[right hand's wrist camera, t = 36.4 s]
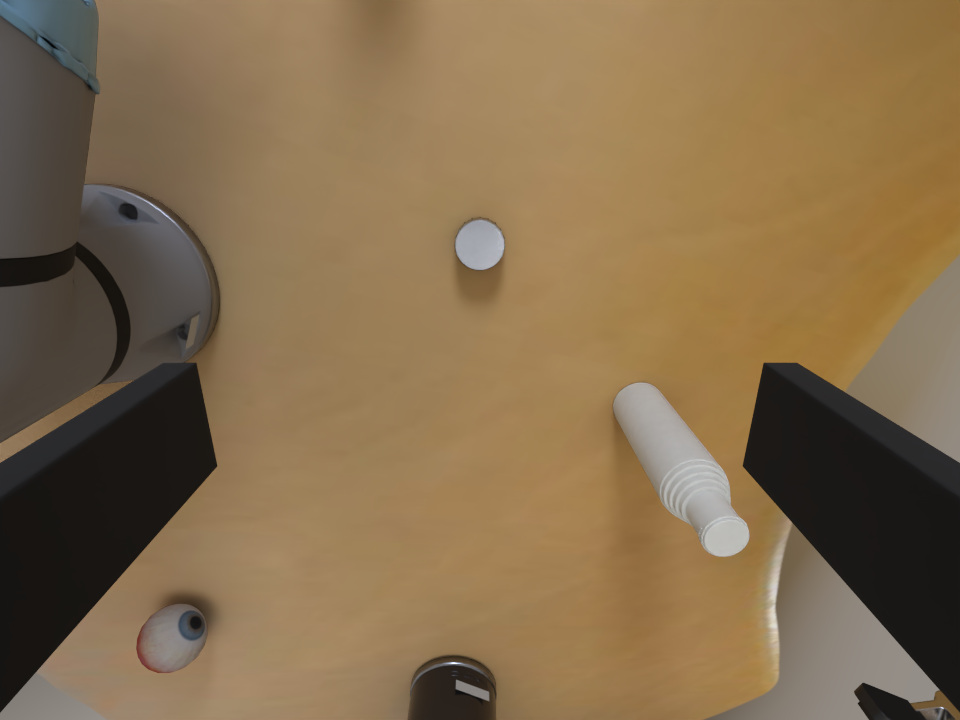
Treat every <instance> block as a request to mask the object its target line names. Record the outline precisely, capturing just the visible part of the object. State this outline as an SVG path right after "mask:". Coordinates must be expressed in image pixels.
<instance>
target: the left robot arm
mask: <svg viewBox="0 0 960 720" xmlns="http://www.w3.org/2000/svg"><path fill="white" fill-rule="evenodd" d="M854 693H855V695H856V696H857V698H858V699H859V701H860V702H859V703H858V705H859V706H860V707H861V709H862V710H863V712H864V713H865V715H866V716H867V717H868V719H869V720H960V712H959V711H958V710H957V709H956V708H955V707H954V705H953V704H952V703H951V702H950V701H949V700H948V699H947V697H946V696H945V695H944V694H943V693H942V692H941V691H937V692H936V693H935V697H934V700H932V701H924V702H917V703H909V702H908V700H905V699H903V698H900V697H898V696H895V695H893V694H890V693H888V692H885V691H883V690H880V689H878V688H875V687H873V686H870V685H868V684H865V683H862V684H861V685H860V686H859V687H858V688H857V689H856V690H855V691H854ZM408 720H496V683H495V680H494V677H493V676H492V674H491V673H490V671H489V670H488V669H487V668H485V667H484V666H483V665H481V664H480V663H478V662H476V661H473V660H470V659H467V658H462V657H444V658H439V659H436V660H433V661H430V662H428V663H427V664H425V665H424V666H422V667H421V668H420V669H419V670H418V671H417V672H416V674H415V675H414V677H413V680H412V684H411V691H410V706H409V713H408Z"/></svg>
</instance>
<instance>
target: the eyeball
mask: <svg viewBox="0 0 960 720" xmlns="http://www.w3.org/2000/svg"><path fill="white" fill-rule="evenodd" d="M207 635H208V626H207V623H206V619H205V617H204V616H203V614H202V613H201V612H200V611H199V610H198V609H197V608H196V607H193V606H191V605H188V604H174V605H170V606H166V607H164V608H162V609H160V610H159V611H157V612H156V613H154V614H153V615H152V616H151V617H150V618H149V619H148V620H147V622H146V623H145V624H144V625H143V626H142V628H141V631H140V633H139V636H138V638H137V648H136V649H137V654H138V658H139V659H140V661H141V663H142V664H143V665H144V666H145V667H146V668H147V669H149V670H151V671H154V672H157V673H171V672H174V671H177V670H179V669H182V668H184V667H186V666H187V665H188V664H189V663H191V662H192V661H193V660H194V659H195V658H196V657H197V656H198V655H199V653H200V652H201V650H202V649H203V647H204V645H205V642H206V638H207Z"/></svg>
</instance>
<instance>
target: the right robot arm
mask: <svg viewBox="0 0 960 720" xmlns="http://www.w3.org/2000/svg"><path fill="white" fill-rule="evenodd" d="M98 25H99V17H98V11H97V6H96V3H95V1H94V0H0V443H1V442H3V441H5V440H6V439H8V438H10V437H11V436H13V435H15V434H16V433H18V432H20V431H21V430H23V429H25V428H26V427H28V426H30V425H31V424H33V423H35V422H37V421H38V420H40V419H42V418H43V417H45V416H47V415H48V414H50V413H52V412H53V411H55V410H57V409H58V408H60V407H62V406H63V405H65V404H67V403H69V402H70V401H72V400H74V399H75V398H77V397H79V396H80V395H82V394H84V393H85V392H87V391H89V390H90V389H92V388H94V387H95V386H97V385H99V384H106V383H114V382H122V381H130V380H134V381H133V382H131V383H130V384H128V385H126V386H125V387H123V388H121V389H120V390H118V391H117V392H115V393H113V394H112V395H110V396H108V397H107V398H105V399H104V400H102V401H100V402H99V403H97V404H95V405H94V406H92V407H91V408H89V409H87V410H86V411H84V412H82V413H81V414H79V415H78V416H76V417H74V418H73V419H71V420H69V421H68V422H66V423H65V424H63V425H61V426H60V427H58V428H56V429H55V430H53V431H52V432H50V433H48V434H47V435H45V436H43V437H42V438H40V439H39V440H37V441H35V442H34V443H32V444H30V445H29V446H27V447H26V448H24V449H22V450H21V451H19V452H17V453H16V454H14V455H13V456H11V457H9V458H8V459H6V460H4V461H3V462H1V463H0V712H1V711H2V710H3V709H4V708H5V707H6V705H7V704H8V703H9V702H10V701H11V700H12V699H13V697H14V696H15V695H16V694H17V693H18V692H19V691H20V689H21V688H22V687H23V686H24V685H25V684H26V683H27V682H28V680H29V679H30V678H31V677H32V676H33V675H34V674H35V672H36V671H37V670H38V669H39V668H40V667H41V666H42V665H43V663H44V662H45V661H46V660H47V659H48V658H49V657H50V655H51V654H52V653H53V652H54V651H55V650H56V649H57V648H58V646H59V645H60V644H61V643H62V642H63V641H64V640H65V638H66V637H67V636H68V635H69V634H70V633H71V632H72V630H73V629H74V628H75V627H76V626H77V625H78V624H79V623H80V621H81V620H82V619H83V618H84V617H85V616H86V615H87V613H88V612H89V611H90V610H91V609H92V608H93V607H94V606H95V604H96V603H97V602H98V601H99V600H100V599H101V598H102V596H103V595H104V594H105V593H106V592H107V591H108V590H109V588H110V587H111V586H112V585H113V584H114V583H115V582H116V581H117V579H118V578H119V577H120V576H121V575H122V574H123V573H124V571H125V570H126V569H127V568H128V567H129V566H130V565H131V563H132V562H133V561H134V560H135V559H136V558H137V557H138V556H139V554H140V553H141V552H142V551H143V550H144V549H145V548H146V546H147V545H148V544H149V543H150V542H151V541H152V540H153V539H154V537H155V536H156V535H157V534H158V533H159V532H160V531H161V529H162V528H163V527H164V526H165V525H166V524H167V523H168V521H169V520H170V519H171V518H172V517H173V516H174V515H175V514H176V512H177V511H178V510H179V509H180V508H181V507H182V506H183V504H184V503H185V502H186V501H187V500H188V499H189V498H190V497H191V495H192V494H193V493H194V492H195V491H196V490H197V489H198V487H199V486H200V485H201V484H202V483H203V482H204V481H205V479H206V478H207V477H208V476H209V475H210V474H211V473H212V472H213V470H214V469H215V468H216V467H217V462H216V458H215V453H214V448H213V443H212V438H211V433H210V428H209V423H208V418H207V413H206V409H205V404H204V399H203V394H202V389H201V384H200V379H199V374H198V369H197V364H196V363H184V362H186V361H187V360H189V359H190V358H191V357H193V356H194V355H195V354H196V353H197V352H198V351H199V350H201V348H202V347H203V346H204V345H205V344H206V342H207V341H208V339H209V337H210V336H211V334H212V332H213V330H214V327H215V324H216V321H217V316H218V310H219V288H218V282H217V278H216V274H215V271H214V268H213V265H212V262H211V260H210V258H209V256H208V254H207V252H206V250H205V248H204V247H203V245H202V243H201V242H200V240H199V239H198V237H197V236H196V235H195V233H194V232H193V231H192V230H191V229H190V227H189V226H188V225H187V224H186V223H185V222H184V221H183V220H182V219H181V218H180V217H179V216H178V215H176V214H175V213H174V212H173V211H172V210H170V209H169V208H167V207H166V206H165V205H163V204H162V203H160V202H158V201H157V200H155V199H153V198H151V197H149V196H147V195H145V194H143V193H141V192H138V191H136V190H133V189H129V188H126V187H122V186H117V185H110V184H84V181H85V173H86V165H87V157H88V149H89V141H90V133H91V125H92V117H93V109H94V101H95V94H99V93H100V85H99V82H98V80H97V78H96V60H97V42H98ZM743 467H744V468H745V469H746V470H747V472H748V473H749V474H750V475H751V476H752V477H753V478H754V479H755V481H756V482H757V483H758V484H759V485H760V486H761V487H762V489H763V490H764V491H765V492H766V493H767V494H768V495H769V497H770V498H771V499H772V500H773V501H774V502H775V503H776V504H777V506H778V507H779V508H780V509H781V510H782V511H783V512H784V514H785V515H786V516H787V517H788V518H789V519H790V520H791V521H792V523H793V524H794V525H795V526H796V527H797V528H798V529H799V531H800V532H801V533H802V534H803V535H804V536H805V537H806V539H807V540H808V541H809V542H810V543H811V544H812V545H813V546H814V548H815V549H816V550H817V551H818V552H819V553H820V554H821V556H822V557H823V558H824V559H825V560H826V561H827V562H828V563H829V565H830V566H831V567H832V568H833V569H834V570H835V571H836V573H837V574H838V575H839V576H840V577H841V578H842V579H843V581H844V582H845V583H846V584H847V585H848V586H849V587H850V588H851V590H852V591H853V592H854V593H855V594H856V595H857V596H858V598H859V599H860V600H861V601H862V602H863V603H864V604H865V605H866V607H867V608H868V609H869V610H870V611H871V612H872V613H873V615H874V616H875V617H876V618H877V619H878V620H879V621H880V623H881V624H882V625H883V626H884V627H885V628H886V629H887V630H888V632H889V633H890V634H891V635H892V636H893V637H894V638H895V640H896V641H897V642H898V643H899V644H900V645H901V646H902V647H903V649H904V650H905V651H906V652H907V653H908V654H909V655H910V657H911V658H912V659H913V660H914V661H915V662H916V663H917V665H918V666H919V667H920V668H921V669H922V670H923V671H924V672H925V674H926V675H927V676H928V677H929V678H930V679H931V680H932V682H933V683H934V684H935V685H936V686H937V687H938V688H939V689H940V691H941V692H942V693H943V694H944V695H945V696H946V697H947V699H948V700H949V701H950V702H951V703H952V704H953V705H954V707H955V708H956V709H957V710H958V711H959V712H960V463H959V462H957V461H956V460H954V459H952V458H951V457H949V456H947V455H946V454H944V453H943V452H941V451H939V450H938V449H936V448H934V447H933V446H931V445H930V444H928V443H926V442H925V441H923V440H921V439H920V438H918V437H917V436H915V435H913V434H912V433H910V432H908V431H907V430H905V429H904V428H902V427H900V426H899V425H897V424H895V423H894V422H892V421H891V420H889V419H887V418H886V417H884V416H882V415H881V414H879V413H878V412H876V411H874V410H873V409H871V408H869V407H868V406H866V405H865V404H863V403H861V402H860V401H858V400H856V399H855V398H853V397H852V396H850V395H848V394H847V393H845V392H843V391H842V390H840V389H839V388H837V387H835V386H834V385H832V384H830V383H829V382H827V381H826V380H824V379H822V378H821V377H819V376H817V375H816V374H814V373H813V372H811V371H809V370H808V369H806V368H804V367H803V366H801V365H800V364H798V363H764V364H763V369H762V374H761V379H760V384H759V389H758V394H757V399H756V404H755V409H754V413H753V418H752V423H751V428H750V433H749V438H748V443H747V448H746V453H745V458H744V462H743Z"/></svg>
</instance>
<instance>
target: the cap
mask: <svg viewBox="0 0 960 720" xmlns="http://www.w3.org/2000/svg"><path fill="white" fill-rule="evenodd" d="M458 231H459V232H458V234H457V235H456V238H455V239H456V241H455V249H456V253H457V256H458V258H459V259H460V261H461V262H462V263H463V264H464V265H465V266H467V267H469V268H471V269H474V270H486V269H489V268H491V267H493V266H494V265H496V264H497V263H498V262H499V260H500V259H501V257H502V256H503V252H504V248H505V243H504V239H505V238H504V236H503V235H502V232H501V228H499V227H498V226H497V225H496V223H494V222H493V221H491V220H489V219H486V218H481V217H480V218H474V219H473V218H472V219H471V220H469V221H467V222H464V224H463V225H462V227H461V228H459V230H458Z"/></svg>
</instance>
